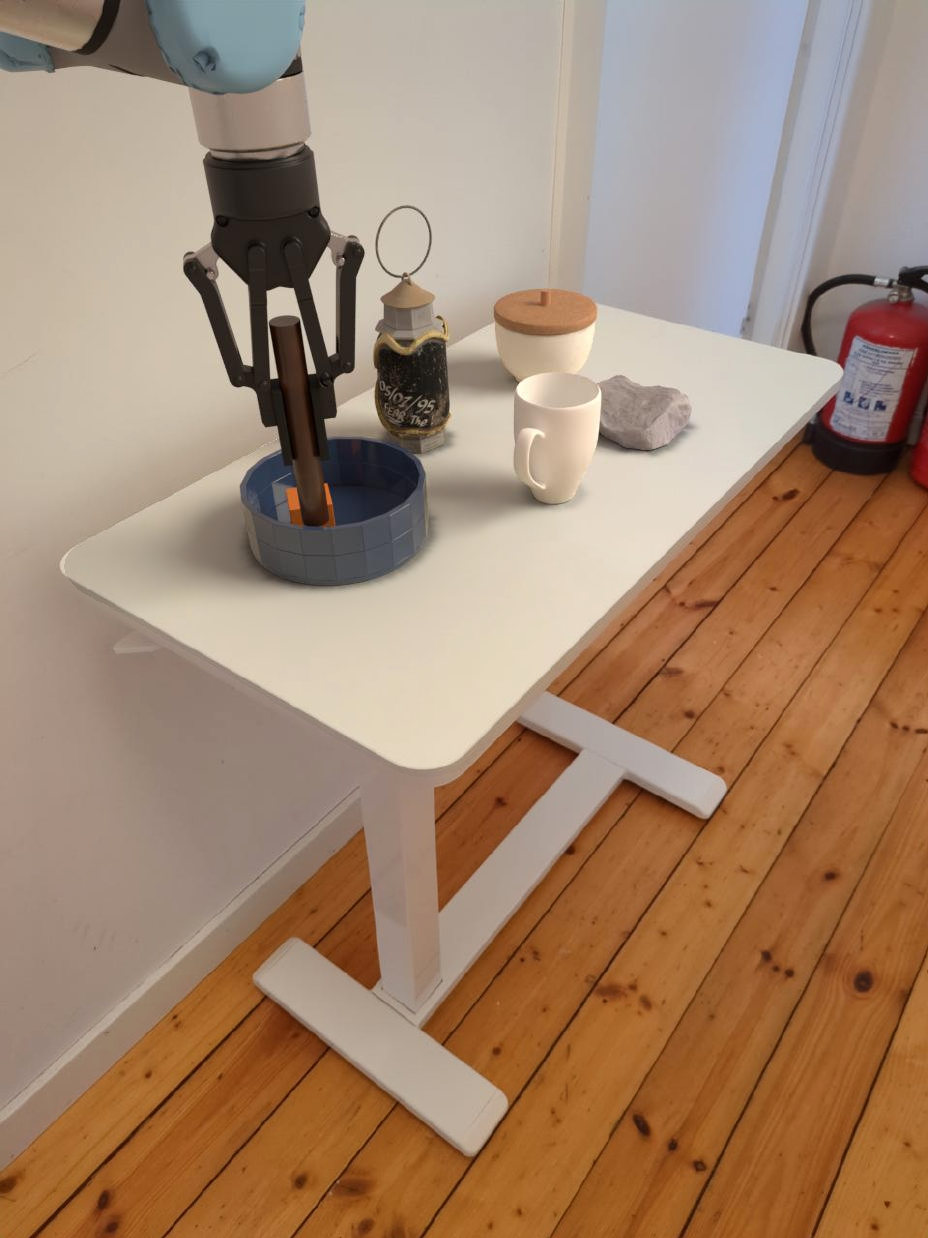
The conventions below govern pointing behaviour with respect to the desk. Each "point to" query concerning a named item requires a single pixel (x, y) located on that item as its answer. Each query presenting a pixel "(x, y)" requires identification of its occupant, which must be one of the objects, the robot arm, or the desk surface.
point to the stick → (299, 418)
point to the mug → (555, 433)
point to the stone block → (641, 413)
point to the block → (295, 507)
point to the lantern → (411, 363)
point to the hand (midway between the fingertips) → (305, 454)
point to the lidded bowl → (544, 331)
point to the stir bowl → (340, 514)
